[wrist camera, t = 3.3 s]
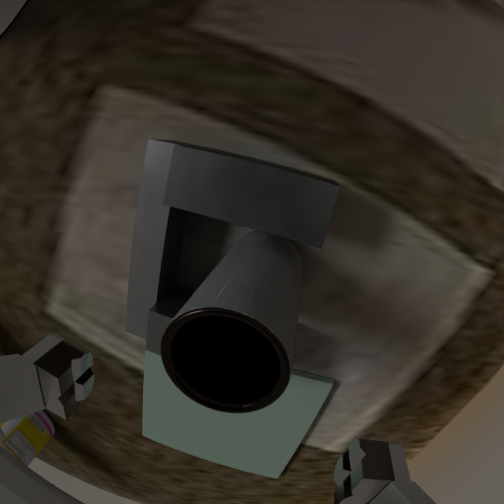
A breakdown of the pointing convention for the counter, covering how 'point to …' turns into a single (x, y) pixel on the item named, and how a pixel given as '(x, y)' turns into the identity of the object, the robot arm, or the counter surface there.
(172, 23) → the counter surface
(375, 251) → the counter surface
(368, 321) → the counter surface
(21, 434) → the supplement bottle
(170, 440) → the mat
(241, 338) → the grey cylinder
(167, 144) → the grey tube mount
